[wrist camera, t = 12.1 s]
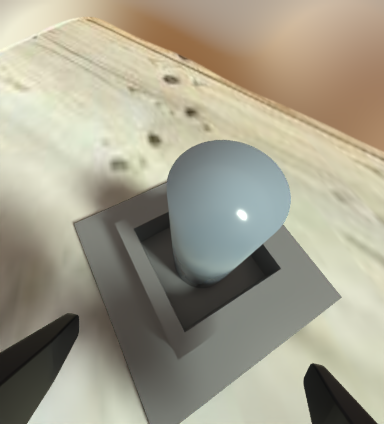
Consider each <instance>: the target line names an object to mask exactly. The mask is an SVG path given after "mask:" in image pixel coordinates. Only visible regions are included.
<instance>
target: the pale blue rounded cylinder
mask: <svg viewBox="0 0 384 424" xmlns="http://www.w3.org/2000/svg"><path fill="white" fill-rule="evenodd" d="M167 200H168V210H169V219H170V229H171V239H172V249H173V259H174V266H175V270H176V272H177V274H178V275H179V277H180V278H181V279H182V280H183V281H184V282H185V283H186V284H188V285H190V286H192V287H196V288H209V287H212V286H214V285H216V284H217V283H219V282H220V281H221V280H222V279H223V278H225V277H226V276H227V275H228V274H229V273H230V272H231V271H232V270H234V269H235V268H236V267H237V266H238V265H239V264H240V263H242V262H243V261H244V260H245V259H246V258H247V257H248V256H250V255H251V254H252V253H253V252H254V251H255V250H256V249H258V248H259V247H260V246H261V245H262V244H263V243H264V242H265V241H267V240H268V239H269V238H270V237H271V236H272V235H273V234H275V233H276V232H277V231H278V230H279V229H280V227H281V226H282V225H283V223H284V222H285V220H286V218H287V216H288V213H289V209H290V203H291V195H290V189H289V185H288V182H287V180H286V178H285V175H284V174H283V172H282V171H281V169H280V168H279V167H278V165H277V164H276V163H275V162H274V161H273V160H272V159H271V158H270V157H268V156H267V155H266V154H265V153H263V152H261V151H260V150H258V149H256V148H254V147H252V146H250V145H247V144H244V143H241V142H236V141H230V140H215V141H208V142H204V143H201V144H198V145H196V146H194V147H191V148H190V149H188V150H187V151H185V152H184V153H183V154H182V155H181V156H180V157H179V158H178V159H177V160H176V161H175V163H174V164H173V166H172V168H171V170H170V172H169V175H168V179H167Z"/></svg>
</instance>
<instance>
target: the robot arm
mask: <svg viewBox="0 0 384 424" xmlns="http://www.w3.org/2000/svg"><path fill="white" fill-rule="evenodd" d="M78 333H79V316H78V315H76V314H71V313H67V314H65V315H63V316H62V317H60V318H58V319H57V320H55V321H53V322H51V323H50V324H48V325H46V326H45V327H43V328H41V329H40V330H38V331H36V332H35V333H33V334H31V335H29V336H28V337H26V338H24V339H23V340H21V341H19V342H18V343H16V344H14V345H12V346H11V347H9V348H7V349H6V350H4V351H2V352H1V353H0V424H27V423H28V421H29V420H30V418H31V417H32V415H33V413H34V412H35V410H36V409H37V407H38V406H39V404H40V402H41V401H42V399H43V398H44V396H45V395H46V393H47V391H48V390H49V388H50V387H51V385H52V383H53V382H54V380H55V378H56V376H57V375H58V373H59V371H60V369H61V367H62V365H63V363H64V361H65V359H66V358H67V356H68V354H69V352H70V350H71V348H72V346H73V344H74V342H75V340H76V338H77V336H78ZM304 389H305V393H306V398H307V403H308V407H309V412H310V417H311V422H312V424H377V423H376V421H375V420H374V419H373V418H372V417H371V416H370V415H369V414H368V413H367V412H366V411H365V410H364V409H363V407H362V406H361V405H360V404H359V403H358V402H357V401H356V400H355V399H354V398H353V397H352V396H351V395H350V394H349V392H348V391H347V390H346V389H345V388H344V387H343V386H342V385H341V384H340V383H339V382H338V381H337V380H336V378H335V377H334V376H333V375H332V374H331V373H330V372H329V371H328V370H327V369H326V368H325V367H324V366H322V365H319V364H314V363H312V364H310V366H309V368H308V370H307V372H306V374H305V377H304Z"/></svg>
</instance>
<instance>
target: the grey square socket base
mask: <svg viewBox="0 0 384 424" xmlns="http://www.w3.org/2000/svg"><path fill="white" fill-rule="evenodd" d="M74 225H75V228H76V230H77V233H78V236H79V238H80V241H81V243H82V246H83V249H84V251H85V254H86V257H87V259H88V262H89V265H90V267H91V270H92V273H93V275H94V278H95V280H96V283H97V286H98V288H99V291H100V294H101V296H102V299H103V302H104V304H105V307H106V309H107V312H108V315H109V317H110V320H111V323H112V325H113V328H114V331H115V333H116V336H117V339H118V341H119V344H120V346H121V349H122V352H123V354H124V357H125V360H126V362H127V365H128V368H129V370H130V373H131V375H132V378H133V381H134V383H135V386H136V389H137V391H138V394H139V397H140V399H141V402H142V405H143V407H144V410H145V412H146V415H147V418H148V420H149V423H150V424H179V423H181V422H182V421H183V420H184V419H186V418H187V417H188V416H190V415H191V414H192V413H194V412H195V411H196V410H197V409H199V408H200V407H201V406H203V405H204V404H205V403H206V402H208V401H209V400H210V399H212V398H213V397H214V396H215V395H217V394H218V393H219V392H221V391H222V390H223V389H224V388H226V387H227V386H228V385H230V384H231V383H232V382H233V381H235V380H236V379H237V378H239V377H240V376H241V375H242V374H244V373H245V372H246V371H248V370H249V369H250V368H251V367H253V366H254V365H255V364H257V363H258V362H259V361H261V360H262V359H263V358H264V357H266V356H267V355H268V354H270V353H271V352H272V351H273V350H275V349H276V348H277V347H279V346H280V345H281V344H282V343H284V342H285V341H286V340H288V339H289V338H290V337H291V336H293V335H294V334H295V333H297V332H298V331H299V330H300V329H302V328H303V327H304V326H306V325H307V324H308V323H309V322H311V321H312V320H313V319H315V318H316V317H317V316H318V315H320V314H321V313H322V312H324V311H325V310H326V309H327V308H329V307H330V306H331V305H333V304H334V303H335V302H337V301H338V300H339V299H340V298H342V297H341V296H340V294H339V293H338V292H337V291H336V290H335V288H334V287H333V286H332V285H331V283H330V282H329V281H328V280H327V278H326V277H325V276H324V275H323V273H322V272H321V271H320V270H319V268H318V267H317V266H316V265H315V263H314V262H313V261H312V260H311V259H310V257H309V256H308V255H307V254H306V252H305V251H304V250H303V249H302V247H301V246H300V245H299V244H298V242H297V241H296V240H295V239H294V237H293V236H292V235H291V234H290V232H289V231H288V230H287V229H286V227H285V226H284V225H282V226H281V227H280V229H279V230H278V231H277V232H276V233H275V234H273V235H272V236H271V237H270V238H269V239H268V240H267V241H265V242H264V243H263V244H262V245H261V246H260V247H259V248H258V249H256V250H255V251H254V252H253V253H252V254H251V255H250V256H248V257H247V258H246V259H245V260H244V261H243V262H242V263H240V264H239V265H238V266H237V267H236V268H235V269H234V270H232V271H231V272H230V273H229V274H228V275H227V276H226V277H225V278H223V279H222V280H221V281H220V282H219V283H217V284H216V285H214V286H212V287H209V288H196V287H192V286H190V285H188V284H186V283H185V282H184V281H183V280H182V279H181V278H180V277H179V275H178V274H177V272H176V270H175V266H174V259H173V249H172V239H171V229H170V219H169V210H168V200H167V183H164V184H162V185H160V186H158V187H155V188H153V189H151V190H149V191H146V192H144V193H142V194H140V195H137V196H135V197H133V198H131V199H128V200H126V201H124V202H122V203H119V204H117V205H115V206H113V207H110V208H108V209H106V210H104V211H101V212H99V213H97V214H95V215H92V216H90V217H88V218H86V219H83V220H81V221H79V222H77V223H74Z"/></svg>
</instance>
